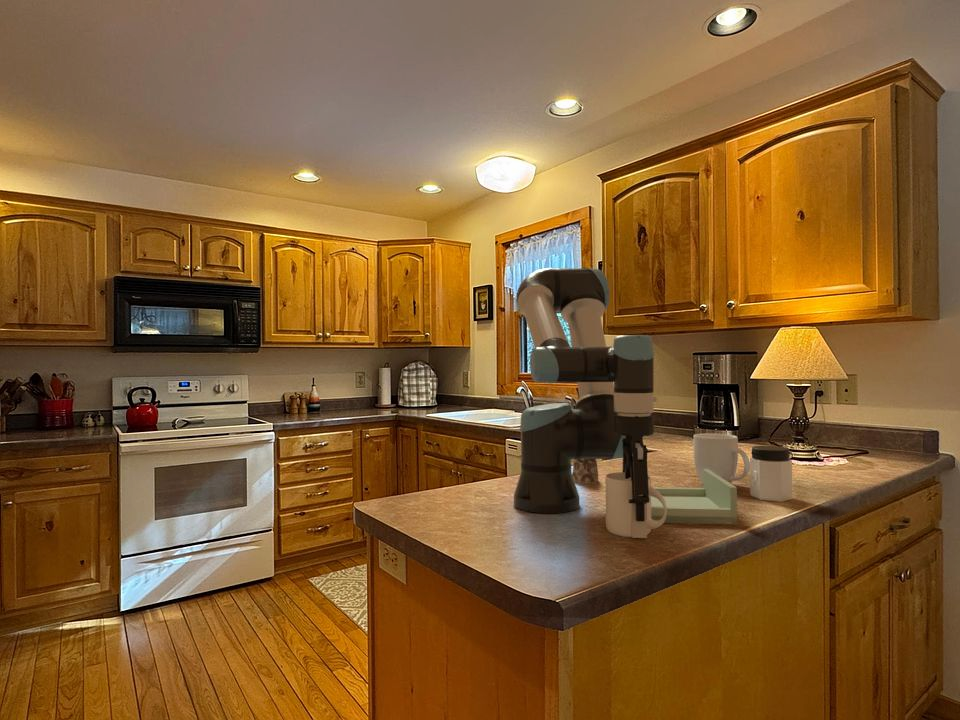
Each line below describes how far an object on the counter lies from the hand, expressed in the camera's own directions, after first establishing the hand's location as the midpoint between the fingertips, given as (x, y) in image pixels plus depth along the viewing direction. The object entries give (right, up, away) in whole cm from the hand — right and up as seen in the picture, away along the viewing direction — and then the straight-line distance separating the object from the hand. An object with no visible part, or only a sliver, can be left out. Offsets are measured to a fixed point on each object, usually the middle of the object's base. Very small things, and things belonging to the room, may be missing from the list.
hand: (635, 529), depth 109 cm
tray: (+14, 0, +14) cm, 20 cm away
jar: (+40, 0, +26) cm, 48 cm away
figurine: (-1, -1, +46) cm, 46 cm away
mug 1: (0, -1, -1) cm, 1 cm away
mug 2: (+33, 0, +39) cm, 52 cm away
